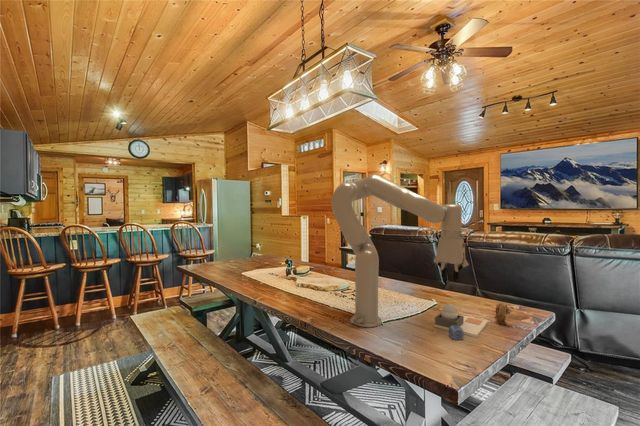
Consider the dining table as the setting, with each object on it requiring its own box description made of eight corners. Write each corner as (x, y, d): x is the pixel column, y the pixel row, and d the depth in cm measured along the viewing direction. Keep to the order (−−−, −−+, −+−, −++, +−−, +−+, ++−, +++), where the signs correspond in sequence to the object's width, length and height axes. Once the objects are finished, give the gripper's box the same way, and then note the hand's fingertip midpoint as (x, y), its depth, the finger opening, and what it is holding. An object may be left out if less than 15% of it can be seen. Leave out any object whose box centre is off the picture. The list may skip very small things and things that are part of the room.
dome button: (454, 322, 128) (455, 307, 128) (439, 319, 132) (439, 303, 132) (459, 318, 133) (459, 303, 133) (444, 315, 137) (444, 300, 136)
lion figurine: (512, 327, 131) (512, 305, 131) (497, 326, 133) (497, 304, 132) (503, 315, 145) (503, 295, 145) (490, 314, 147) (490, 294, 146)
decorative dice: (458, 335, 124) (458, 325, 124) (463, 340, 120) (463, 329, 120) (448, 335, 124) (448, 325, 124) (453, 340, 120) (453, 329, 120)
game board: (476, 337, 122) (476, 327, 122) (434, 326, 132) (434, 317, 132) (488, 323, 136) (488, 313, 135) (448, 314, 146) (449, 305, 146)
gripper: (475, 235, 128) (474, 281, 129) (433, 232, 139) (433, 275, 140) (470, 237, 123) (469, 285, 123) (427, 234, 133) (426, 278, 134)
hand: (450, 279), depth 132 cm, fingers open, 3 cm apart
